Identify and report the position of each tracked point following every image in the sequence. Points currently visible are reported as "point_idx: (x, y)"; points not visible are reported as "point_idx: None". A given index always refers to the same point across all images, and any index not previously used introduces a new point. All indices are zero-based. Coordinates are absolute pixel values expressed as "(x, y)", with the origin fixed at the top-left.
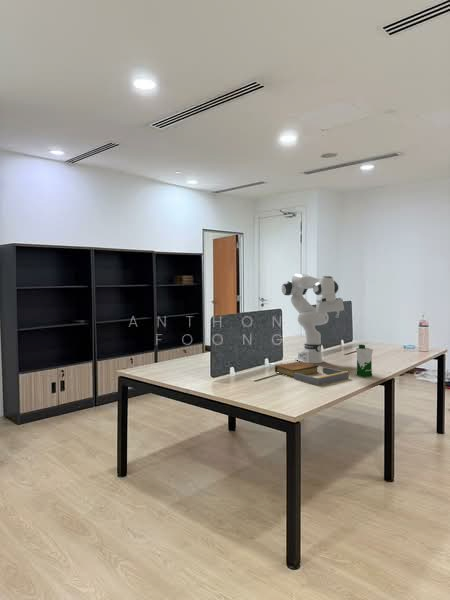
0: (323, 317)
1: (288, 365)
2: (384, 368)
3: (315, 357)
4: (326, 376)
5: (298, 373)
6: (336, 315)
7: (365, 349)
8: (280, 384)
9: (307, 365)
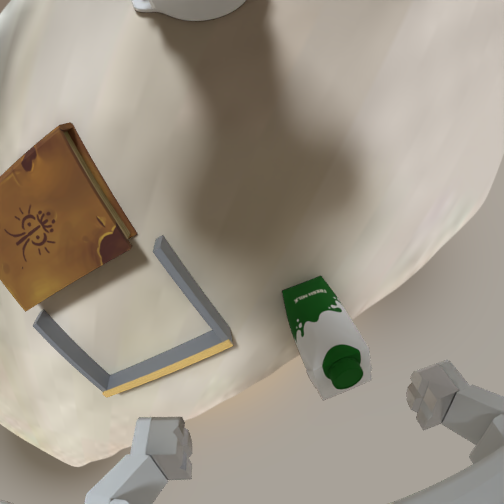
0: (134, 443)
1: (2, 230)
2: (437, 201)
3: (193, 4)
4: (134, 386)
5: (46, 334)
6: (424, 426)
7: (336, 389)
8: (14, 352)
9: (77, 240)
